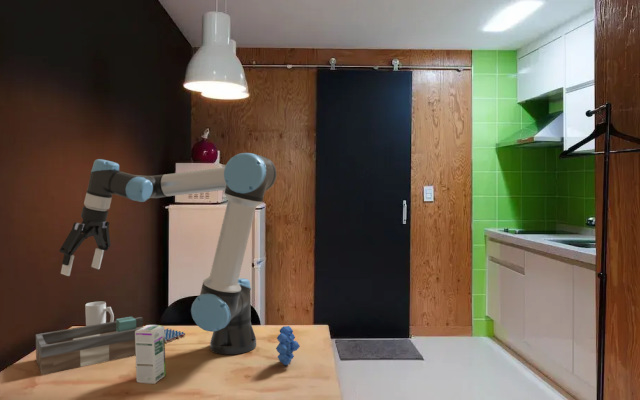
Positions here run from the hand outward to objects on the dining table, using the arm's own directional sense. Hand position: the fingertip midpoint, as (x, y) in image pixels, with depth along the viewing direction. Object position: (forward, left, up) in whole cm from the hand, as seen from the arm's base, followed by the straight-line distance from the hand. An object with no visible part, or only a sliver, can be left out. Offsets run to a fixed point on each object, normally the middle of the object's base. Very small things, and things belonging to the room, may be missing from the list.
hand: (80, 271), depth 148 cm
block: (-4, -12, -22) cm, 25 cm away
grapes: (-49, -47, -27) cm, 74 cm away
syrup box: (-34, -11, -27) cm, 45 cm away
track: (-4, -3, -27) cm, 27 cm away
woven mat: (0, -26, -28) cm, 38 cm away
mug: (+16, -8, -27) cm, 32 cm away
